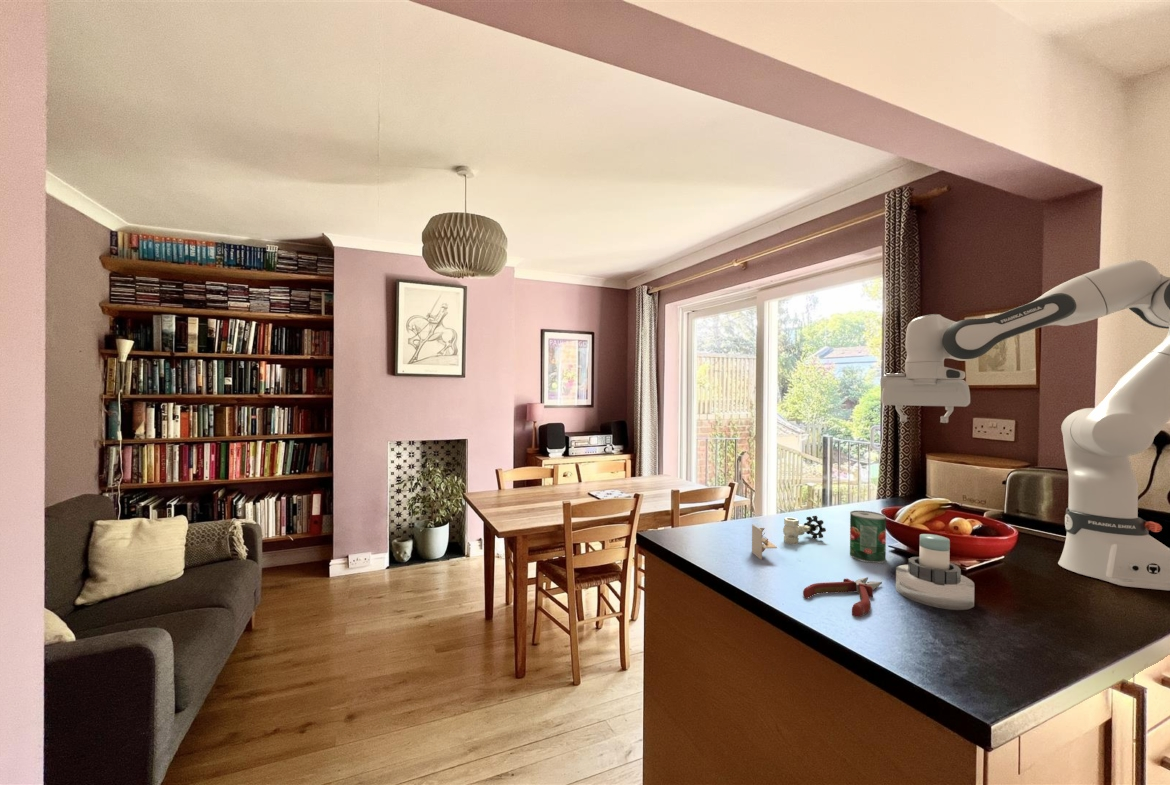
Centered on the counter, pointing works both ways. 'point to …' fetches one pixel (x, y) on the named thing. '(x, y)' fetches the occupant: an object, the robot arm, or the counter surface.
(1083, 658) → the counter surface
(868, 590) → the pliers
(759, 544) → the architectural model
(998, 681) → the counter surface
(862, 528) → the canned tomato
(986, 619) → the counter surface
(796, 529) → the valve
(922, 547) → the jar with teal lid
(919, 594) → the ringed white base
